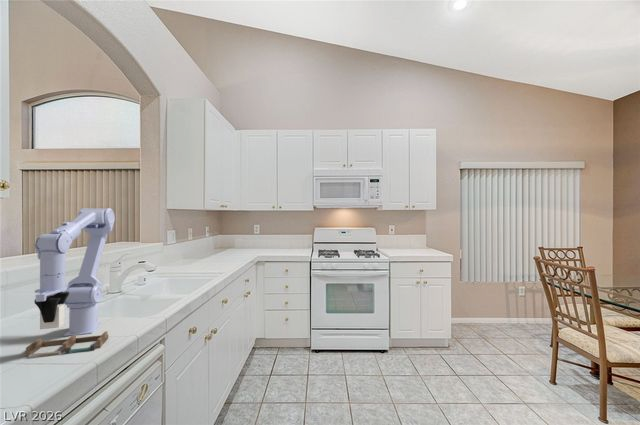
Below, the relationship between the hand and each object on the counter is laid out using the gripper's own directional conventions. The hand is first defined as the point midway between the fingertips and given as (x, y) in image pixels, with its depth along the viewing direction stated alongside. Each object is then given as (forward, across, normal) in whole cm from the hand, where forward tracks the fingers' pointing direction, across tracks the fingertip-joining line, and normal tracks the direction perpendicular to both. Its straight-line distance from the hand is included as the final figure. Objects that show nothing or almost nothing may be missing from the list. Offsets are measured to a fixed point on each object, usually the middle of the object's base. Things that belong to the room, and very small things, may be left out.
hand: (52, 319), depth 93 cm
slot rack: (+9, 0, +4) cm, 10 cm away
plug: (+2, 0, 0) cm, 2 cm away
